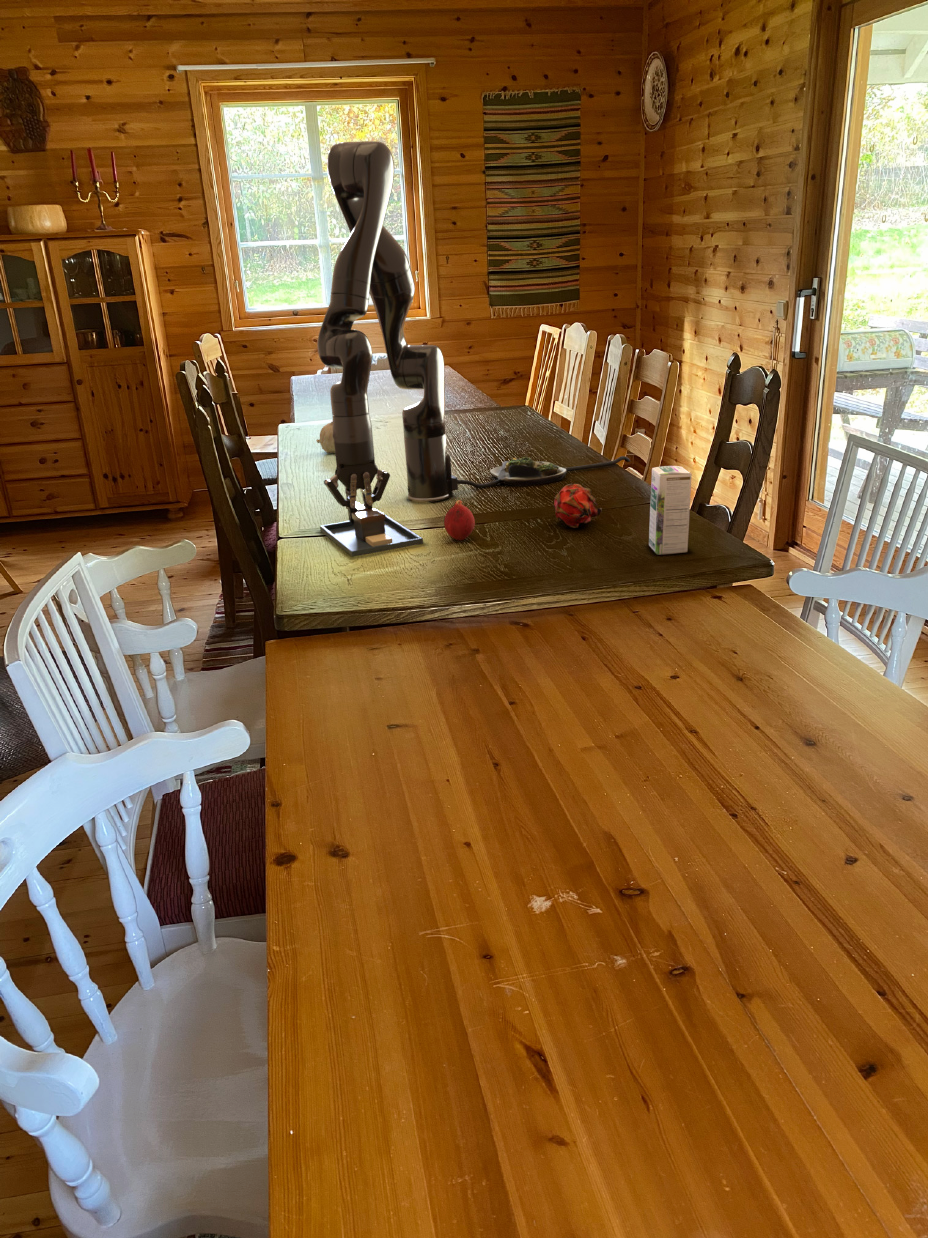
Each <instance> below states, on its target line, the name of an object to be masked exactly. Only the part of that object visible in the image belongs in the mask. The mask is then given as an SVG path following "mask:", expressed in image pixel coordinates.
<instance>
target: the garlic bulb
mask: <svg viewBox="0 0 928 1238" xmlns="http://www.w3.org/2000/svg"><path fill="white" fill-rule="evenodd" d="M332 423H333V421H331V422H329V423H327V424H324V426H322V428H321V429H320V432H319V439H316V443H317V444H320V446H321V449H322V450H323V451H324V452H325V453H327V454H335V447H334V439H333V428H332Z"/></svg>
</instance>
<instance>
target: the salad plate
mask: <svg viewBox="0 0 928 1238" xmlns="http://www.w3.org/2000/svg"><path fill="white" fill-rule="evenodd" d="M564 468H565V467H561V466H559V465H556V464H555V463H552V462H548V461H535V460H533V459H532V458H530V457H528V456H523V457H521V458H516V457H512V458H511V459H510V460H505V461H502V464H501V466H496V467H493V468H491V469H490V474H491V476H493V477H495V478H496V479H497V480H501V481H503V482H504V484H505V485H508V486H514V487H527V486H536V485H537V486H538V485H544V484H550V483H555V482H558V481H561V480H562V479H563V478H564V477H565V476H566V474H567V472H566V469H564Z"/></svg>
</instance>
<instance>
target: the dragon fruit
mask: <svg viewBox="0 0 928 1238" xmlns="http://www.w3.org/2000/svg"><path fill="white" fill-rule="evenodd" d="M592 493H593V492H592V490H591V488H589V487H583V486H582V485H581V484H579V483H569V484H566V485H564V486H563V487H562V488H561V489H560V491H559V492H558V493H557V494H556V495H555V496H554V500H553V501H554V502H553V508H555V511H554V514H555V515H554V516H555V518H556V521H557V522H558V523H560V522H564V523H565V524H566V525H567V526H568V527H569V528H572V529H579V528H580V527H579V525H580V524H586V525H587V524H589V523H590V522H591V521H592V518H595V517H598V516H600V515H601V514H602V507H599V508H598V506H599V505H598V503H597V500H596V498H595V496H594V495H592ZM596 506H597V507H596Z"/></svg>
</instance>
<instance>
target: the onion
mask: <svg viewBox="0 0 928 1238" xmlns="http://www.w3.org/2000/svg"><path fill="white" fill-rule="evenodd" d="M475 521H476V519H475V517H474V515H473V512H472V511H471V510H470V509H469V508H468V507H467V506H465V505H463V501H462V500H460V499H458V500H456V501H455V503H454V505H453V506H452V507H451V508H449V509H448V511H447V512H446V514H445V516H444V522H443V524H444V529H445V531H446V533H447V534H448V535H449V537H451V538H452V539H454V540H455V541H457V542H459V541H460V542H461V541H464V540H465V539H467V538H468V537H469V536H470V535H471V534H472V532H473V531H474V529H475V526H476V522H475Z"/></svg>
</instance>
